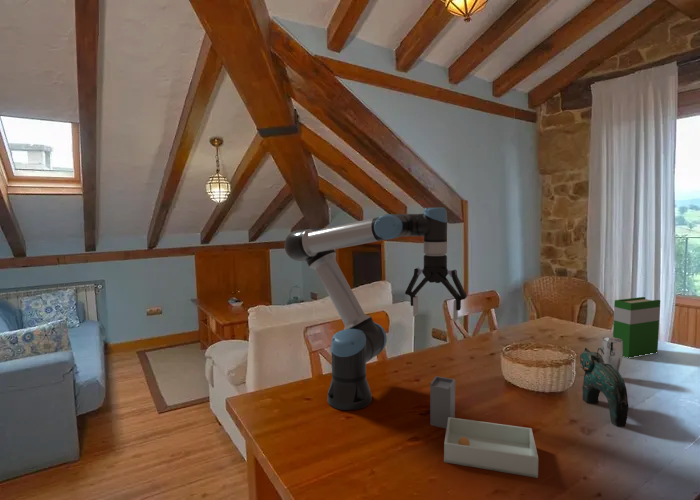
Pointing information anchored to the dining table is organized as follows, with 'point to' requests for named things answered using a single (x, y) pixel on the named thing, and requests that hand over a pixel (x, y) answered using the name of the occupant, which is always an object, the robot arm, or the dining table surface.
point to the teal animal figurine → (604, 385)
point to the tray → (491, 447)
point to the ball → (464, 441)
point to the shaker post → (442, 401)
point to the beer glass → (612, 351)
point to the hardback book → (637, 325)
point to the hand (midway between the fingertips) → (435, 317)
